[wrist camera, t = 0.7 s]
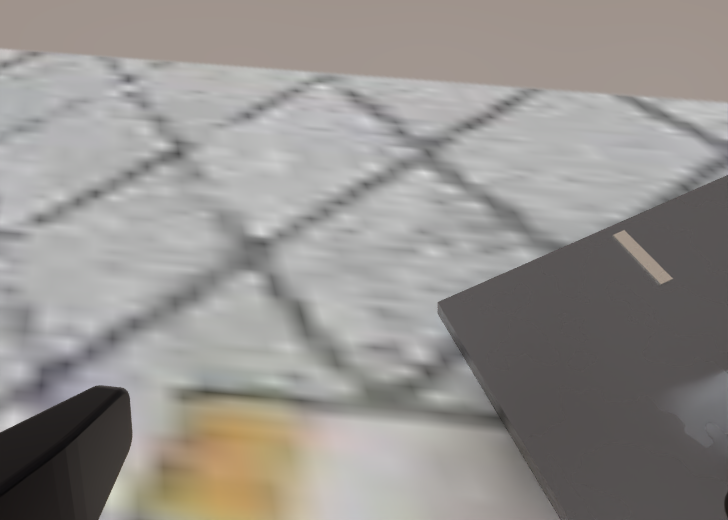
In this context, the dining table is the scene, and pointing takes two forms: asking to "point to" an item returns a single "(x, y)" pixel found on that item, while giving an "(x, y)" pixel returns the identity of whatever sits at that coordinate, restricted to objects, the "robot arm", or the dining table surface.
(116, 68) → the dining table surface
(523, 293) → the hub plate
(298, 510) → the dining table surface
